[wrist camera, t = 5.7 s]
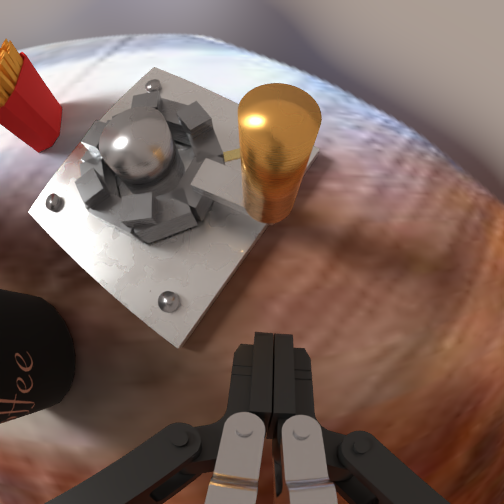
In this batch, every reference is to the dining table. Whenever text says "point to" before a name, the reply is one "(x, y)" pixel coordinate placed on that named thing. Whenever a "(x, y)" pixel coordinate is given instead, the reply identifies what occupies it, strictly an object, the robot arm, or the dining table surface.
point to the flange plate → (169, 254)
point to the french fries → (27, 101)
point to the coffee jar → (32, 355)
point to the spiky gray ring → (212, 164)
